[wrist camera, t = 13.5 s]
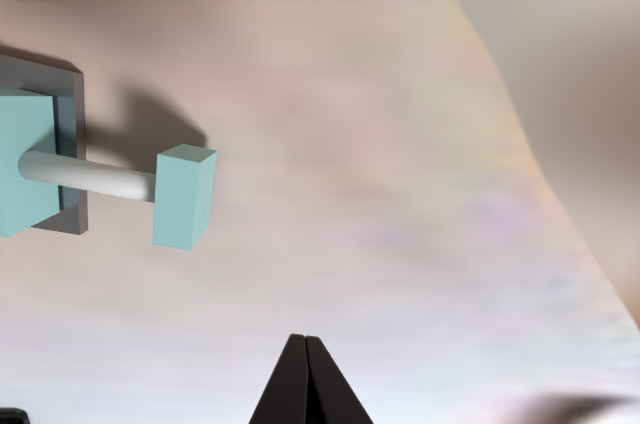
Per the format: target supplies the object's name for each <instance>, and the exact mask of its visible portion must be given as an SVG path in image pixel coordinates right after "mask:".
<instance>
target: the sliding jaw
mask: <svg viewBox="0 0 640 424" xmlns="http://www.w3.org/2000/svg"><path fill="white" fill-rule="evenodd" d="M216 158H217V151H215V150H211V149H206V148H202V147H197V146H192V145H188V144H181V145H178V146H176V147H173V148H171V149H169V150H166V151H164V152H161V153H159V154H157V171H156V174H151V173H146V172H141V171H136V170H131V169H126V168H121V167H116V166H111V165H106V164H101V163H96V162H91V161H86V160H81V159H76V158H71V157H66V156H61V155H56V148H55V132H54V117H53V101H52V96H48V95H44V94H39V93H35V92H31V91H26V90H22V89H18V88H13V87H0V236H2V237H10V236H12V235H14V234H16V233H18V232H20V231H22V230H24V229H27V228H29V227H31V226H33V225H35V224H37V223H39V222H41V221H43V220H45V219H47V218H49V217H51V216H53V215H55V214H57V213H59V212H60V211H59V196H58V185H61V186H66V187H71V188H77V189H82V190H88V191H93V192H98V193H104V194H109V195H115V196H120V197H125V198H131V199H136V200H141V201H147V202H152V203H155V208H154V227H153V244H155V245H161V246H167V247H173V248H179V249H185V250H191V249H192V248H193V246H194V245H195V243H196V242H197V241H198V239H199V238H200V236H201V235H202V233H203V232H204V230H205V229H206V227H207V226H208V223H209V215H210V207H211V199H212V190H213V182H214V174H215V166H216Z"/></svg>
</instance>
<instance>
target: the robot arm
mask: <svg viewBox="0 0 640 424" xmlns="http://www.w3.org/2000/svg"><path fill="white" fill-rule="evenodd" d="M0 424H30V423H29V420H28V417H27V416H26V415H25V414H23V413H0ZM249 424H374V423H373V422H372V420H371V419H370V417H369V415H368V414H367V412H366V411H365V409H364V407H363V406H362V404H361V403H360V401H359V400H358V398H357V396H356V395H355V393H354V392H353V390H352V388H351V387H350V385H349V384H348V382H347V381H346V379H345V377H344V376H343V374H342V373H341V371H340V370H339V368H338V366H337V365H336V363H335V362H334V360H333V358H332V357H331V355H330V354H329V352H328V351H327V349H326V347H325V346H324V344H323V343H322V341H321V339H320V338H319V337H315V336H305V337H304V335H300V334H291V335H290V336H289V338H288V340H287V343H286V345H285V347H284V349H283V351H282V353H281V355H280V357H279V360H278V362H277V364H276V366H275V368H274V370H273V372H272V374H271V377H270V379H269V381H268V383H267V385H266V387H265V389H264V392H263V394H262V396H261V398H260V400H259V402H258V404H257V406H256V409H255V411H254V413H253V415H252V417H251V419H250V421H249Z"/></svg>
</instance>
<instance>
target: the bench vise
mask: <svg viewBox="0 0 640 424" xmlns="http://www.w3.org/2000/svg"><path fill="white" fill-rule="evenodd" d="M0 87H13V88H18V89H22V90H26V91H31V92H35V93H39V94H44V95H48V96H52V101H53V117H54V132H55V148H56V155H61V156H66V157H71V158H76V159H81V160H86V148H85V114H84V79H83V73H79V72H75V71H71V70H67V69H63V68H58V67H54V66H50V65H46V64H42V63H38V62H34V61H30V60H26V59H21V58H17V57H13V56H9V55H5V54H1V53H0ZM58 196H59V211H60V212H59V213H57V214H55V215H53V216H51V217H49V218H47V219H45V220H43V221H41V222H39V223H37V224H35V225H33V226H31V227H34V228H40V229H46V230H52V231H59V232H65V233H71V234H77V235H81V234H82V233H84V232H85V231H87V230H88V218H87V190H82V189H77V188H71V187H66V186H61V185H58Z"/></svg>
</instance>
